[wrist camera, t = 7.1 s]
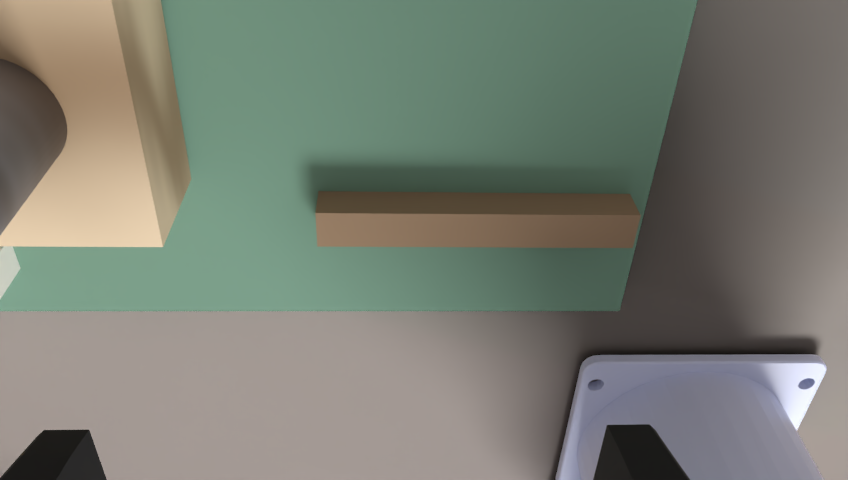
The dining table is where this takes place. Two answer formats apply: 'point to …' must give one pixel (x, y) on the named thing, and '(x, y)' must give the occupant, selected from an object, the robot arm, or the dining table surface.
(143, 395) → the dining table surface
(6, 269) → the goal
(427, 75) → the pitch
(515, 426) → the dining table surface
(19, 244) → the beige block
